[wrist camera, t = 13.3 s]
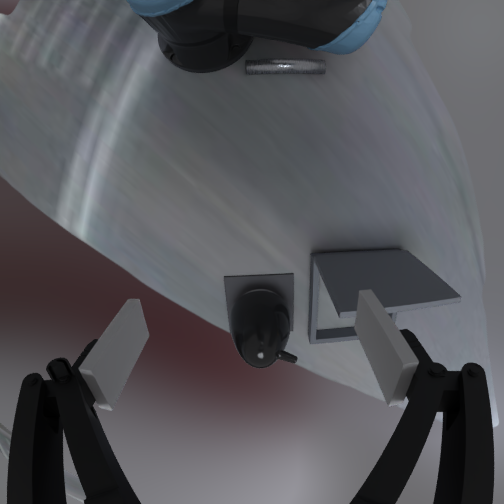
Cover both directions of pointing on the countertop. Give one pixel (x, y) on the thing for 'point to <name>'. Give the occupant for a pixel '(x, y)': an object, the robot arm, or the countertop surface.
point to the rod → (285, 66)
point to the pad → (272, 282)
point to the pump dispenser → (261, 328)
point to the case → (373, 286)
